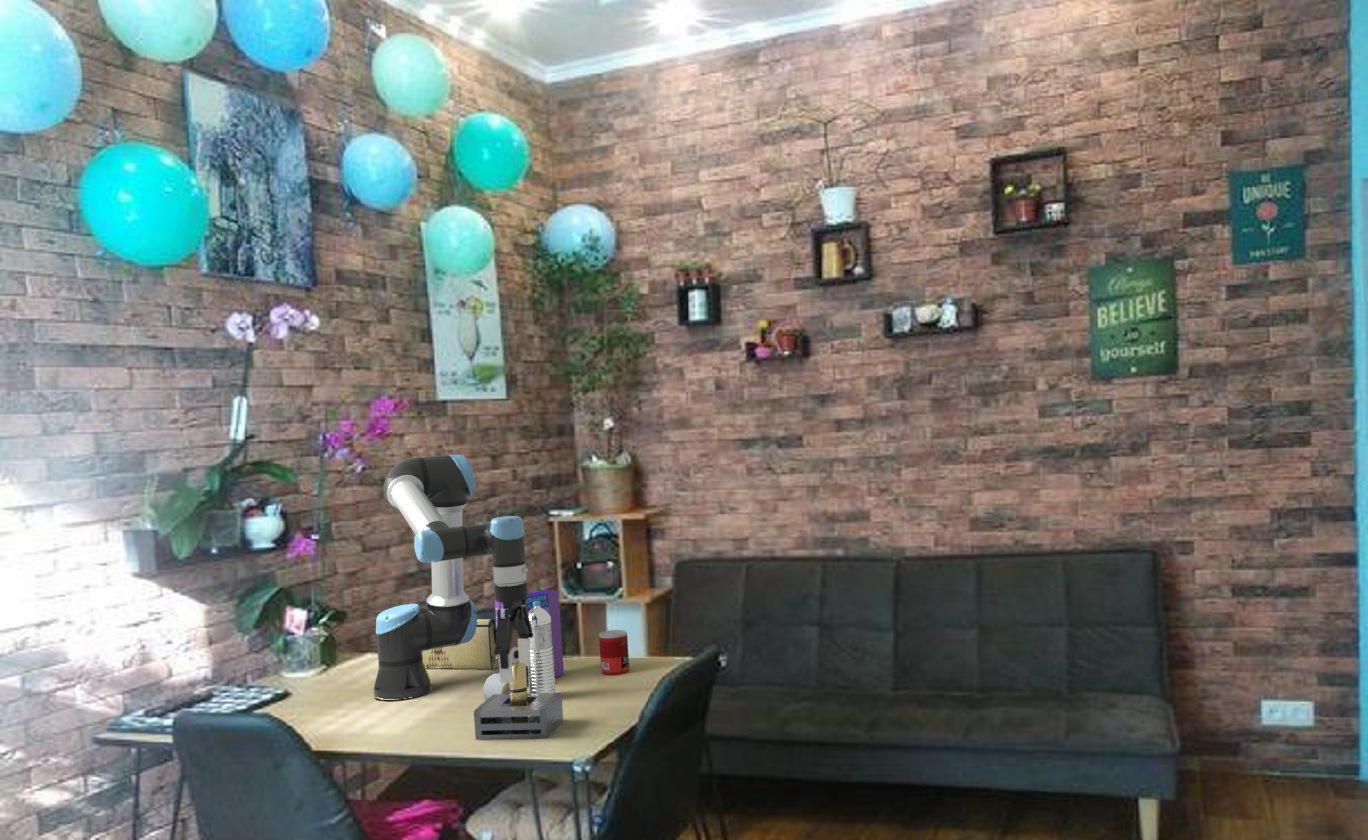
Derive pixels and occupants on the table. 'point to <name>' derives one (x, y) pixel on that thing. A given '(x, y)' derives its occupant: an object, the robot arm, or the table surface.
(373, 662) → the table surface
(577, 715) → the table surface
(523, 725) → the collar stand
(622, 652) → the canned food
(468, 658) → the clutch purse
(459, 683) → the table surface
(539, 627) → the water bottle
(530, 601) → the cereal box
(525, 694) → the gold domed cylinder
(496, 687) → the ceramic mug
